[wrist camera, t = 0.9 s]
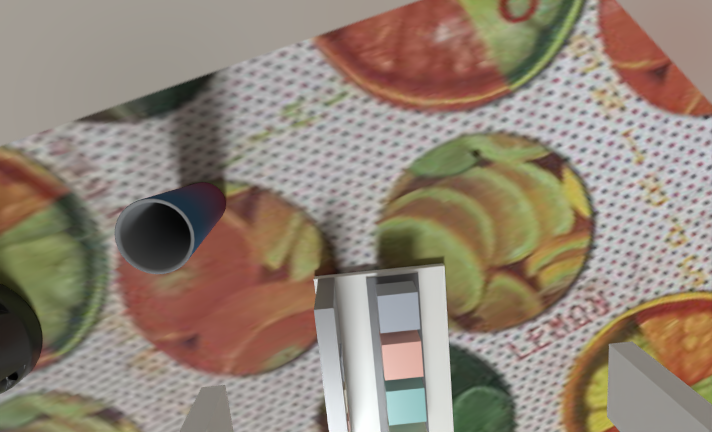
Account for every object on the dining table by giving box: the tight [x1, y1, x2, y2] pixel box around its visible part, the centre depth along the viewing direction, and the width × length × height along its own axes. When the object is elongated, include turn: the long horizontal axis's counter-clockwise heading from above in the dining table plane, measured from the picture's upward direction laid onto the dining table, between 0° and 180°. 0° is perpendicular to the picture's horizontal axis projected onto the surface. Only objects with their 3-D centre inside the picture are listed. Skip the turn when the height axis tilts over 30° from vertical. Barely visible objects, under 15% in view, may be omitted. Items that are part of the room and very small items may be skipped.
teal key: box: [383, 375, 427, 425], centre depth 56 cm, size 4×4×4 cm
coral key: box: [379, 330, 424, 381], centre depth 54 cm, size 4×4×4 cm
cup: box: [115, 182, 226, 274], centre depth 47 cm, size 7×7×15 cm
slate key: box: [375, 281, 420, 333], centre depth 53 cm, size 4×4×4 cm
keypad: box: [314, 263, 454, 432], centre depth 55 cm, size 16×24×10 cm, turn 5°
